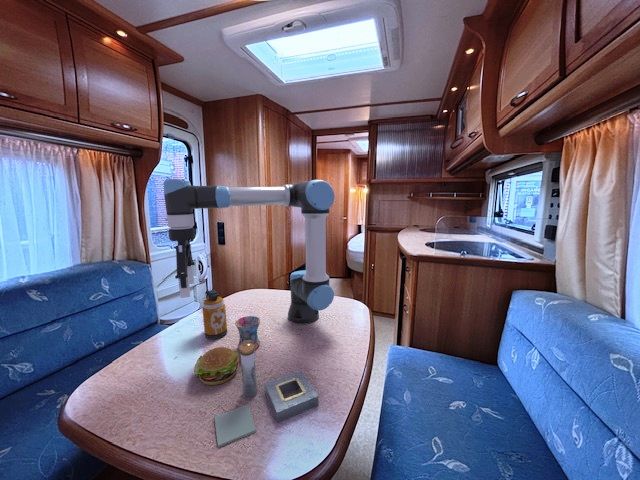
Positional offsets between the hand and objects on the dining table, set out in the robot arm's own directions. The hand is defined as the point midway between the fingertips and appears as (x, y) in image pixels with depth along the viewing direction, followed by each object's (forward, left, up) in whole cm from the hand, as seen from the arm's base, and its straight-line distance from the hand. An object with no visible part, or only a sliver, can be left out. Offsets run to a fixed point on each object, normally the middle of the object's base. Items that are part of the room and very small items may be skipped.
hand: (188, 290), depth 87 cm
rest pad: (-8, +33, -28) cm, 44 cm away
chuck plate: (-24, +31, -28) cm, 48 cm away
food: (-6, +9, -28) cm, 30 cm away
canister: (-8, -19, -28) cm, 34 cm away
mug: (-20, -3, -28) cm, 35 cm away
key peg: (-14, +23, -28) cm, 39 cm away
